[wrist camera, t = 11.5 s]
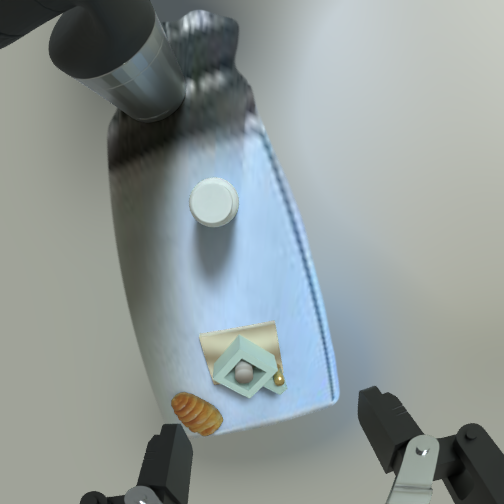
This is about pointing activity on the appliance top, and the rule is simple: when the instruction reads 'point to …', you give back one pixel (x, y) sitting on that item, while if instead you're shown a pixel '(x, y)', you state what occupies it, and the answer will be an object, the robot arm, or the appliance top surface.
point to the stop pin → (279, 376)
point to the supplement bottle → (213, 202)
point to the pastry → (196, 413)
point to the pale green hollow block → (261, 371)
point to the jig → (222, 339)
